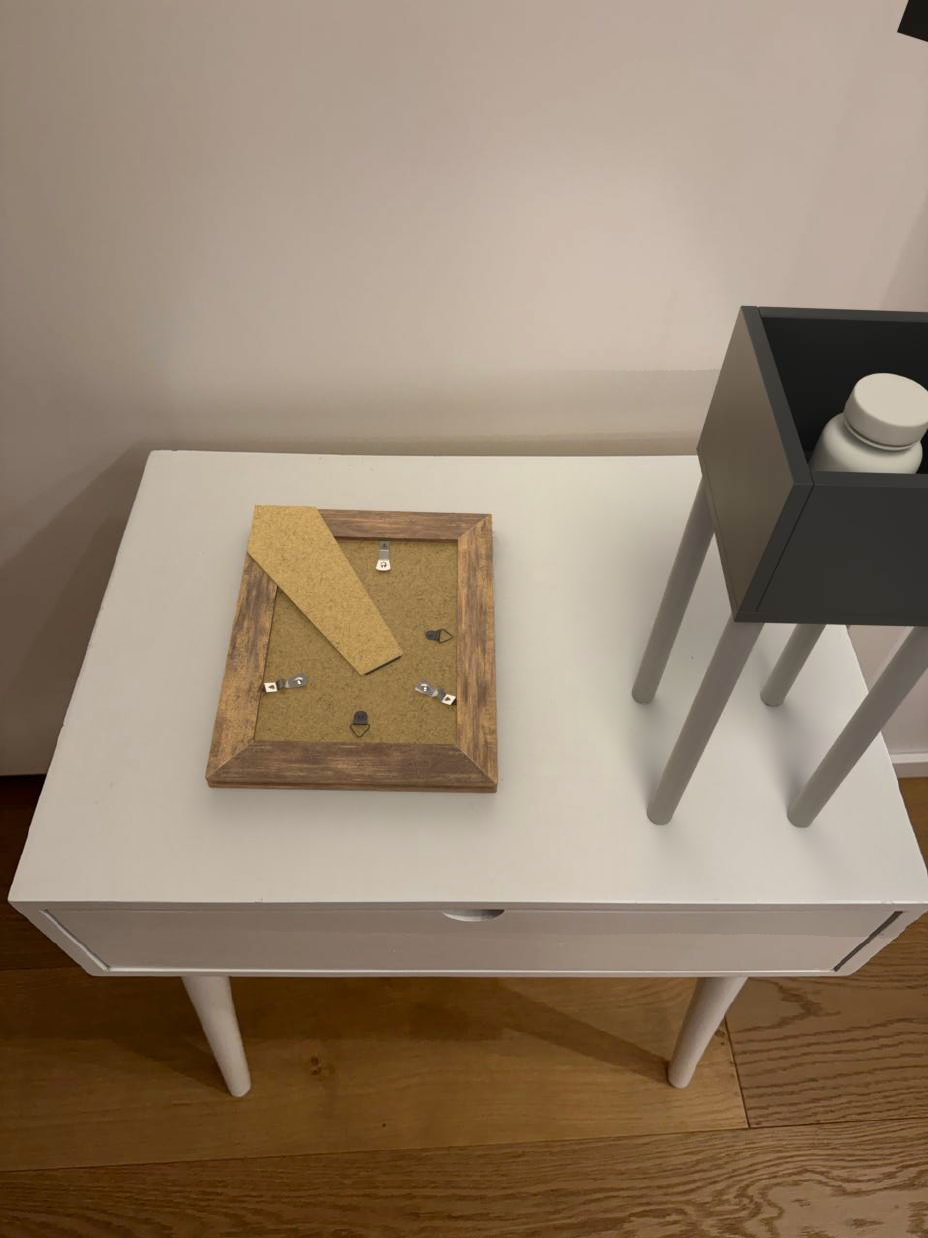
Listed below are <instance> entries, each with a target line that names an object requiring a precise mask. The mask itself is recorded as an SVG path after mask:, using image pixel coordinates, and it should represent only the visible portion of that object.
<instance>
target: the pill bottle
mask: <svg viewBox="0 0 928 1238" xmlns="http://www.w3.org/2000/svg"><path fill="white" fill-rule="evenodd" d="M927 429H928V391H927V390H925V389H924V388H923V387H922V386H921V385H919V384H918V383H916V382H914V381H912V380H910V379H908V378H905V377H902V376H898V375H894V374H886V373H881V374H872V375H869V376H866V377H864V378H862V379H861V380H859V381H858V383H857V384H856V385H855V387H854V389H853V391H852V393H851V395H850V397H849V399H848V400H847V402H846V405H845V409H844V412H843V413H841V414H839V415H837V416H835V417H834V418H832V419H831V420H830V421H829V422H828V423H827V424H826V426H825V427H824V429H823V431H822V433H821V435H820V437H819V440H818V442H817V444H816V446H815V449H814V451H813V453H812V455H811V458H810V460H809V462H808V464H807V465H808V468H809V471H836V472H871V473H906V474H915V473H916V471H917V470H918V468H919V466H920V463H921V460H922V446H921V443H920V440H921V439H922V437H923V436H924V434H925V432H926V431H927Z"/></svg>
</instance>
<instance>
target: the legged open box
mask: <svg viewBox="0 0 928 1238" xmlns="http://www.w3.org/2000/svg"><path fill="white" fill-rule="evenodd" d="M881 373H886V374H894V375H898V376H902V377H905V378H908V379H910V380H912V381H914V382H916V383H918V384H919V385H921V386H922V387H923V388H924V389H925V390H927V391H928V311H913V310H912V311H911V310H881V309H856V308H855V309H854V308H853V309H852V308H851V309H849V308H824V307H823V308H822V307H795V306H768V305H767V306H764V305H763V306H762V305H760V306H757V305H740V307H739V310H738V312H737V317H736V320H735V322H734V327H733V329H732V332H731V335H730V339H729V343H728V345H727V349H726V352H725V355H724V358H723V363H722V365H721V369H720V371H719V373H718V374H719V375H718V377H717V382H716V384H715V387H714V391H713V394H712V397H711V400H710V403H709V407H708V410H707V414H706V416H705V419H704V423H703V426H702V430H701V432H700V436H699V439H698V442H697V445H696V454H697V459H698V463H699V468H700V472H701V478H700V482H699V484H698V486H697V487H698V488H697V490H696V493H695V497H694V500H693V502H692V506H691V509H690V511H689V515H688V518H687V521H686V524H685V527H684V529H683V534H682V536H681V539H680V542H679V545H678V549H677V552H676V555H675V558H674V561H673V564H672V567H671V571H670V573H669V576H668V579H667V583H666V585H665V589H664V592H663V595H662V597H661V601H660V604H659V607H658V610H657V612H656V616H655V619H654V622H653V625H652V628H651V631H650V635H649V638H648V640H647V643H646V644H647V645H646V647H645V650H644V653H643V656H642V659H641V662H640V665H639V668H638V672H637V674H636V677H635V681H634V683H633V686H632V688H631V689H632V690H631V696H632V698H633V699H634V700H635V701H636V702H637V703H639V704H643V705H647V704H650V703H651V702H653V700H655V698H656V697H655V696H656V694H657V692H658V689H659V685H660V682H661V680H662V677H663V675H664V671H665V669H666V666H667V663H668V661H669V658H670V655H671V654H672V653H671V652H672V650H673V648H674V644H675V642H676V639H677V636H678V634H679V631H680V628H681V626H682V622H683V620H684V617H685V614H686V611H687V609H688V606H689V603H690V601H691V597H692V595H693V592H694V589H695V586H696V585H697V581H698V578H699V575H700V573H701V570H702V567H703V564H704V562H705V559H706V556H707V553H708V550H709V548H710V545H711V542H712V540H713V537H714V535H715V541H716V545H717V550H718V554H719V560H720V565H721V569H722V573H723V578H724V582H725V587H726V591H727V596H728V602H729V606H730V610H731V611H730V615H729V617H728V619H727V622H726V625H725V626H724V629H723V631H722V634H721V636H720V638H719V640H718V643H717V645H716V647H715V650H714V652H713V655H712V657H711V659H710V661H709V663H708V664H709V665H708V666H707V669H706V671H705V674H704V676H703V678H702V680H701V683H700V685H699V687H698V690H697V692H696V694H695V697H694V699H693V701H692V704H691V706H690V709H689V711H688V713H687V716H686V717H685V721H684V722H683V724H682V727H681V729H680V732H679V734H678V737H677V738H676V741H675V743H674V746H673V748H672V750H671V753H670V755H669V758H668V760H667V763H666V764H665V767H664V769H663V771H662V774H661V777H660V778H659V781H658V784H657V786H656V788H655V790H654V793H653V795H652V797H651V800H650V802H649V805H648V807H647V809H646V814H647V817H648V820H650V822H652V823H653V824H654V825H656V826H664V825H665V826H666V825H667V824H669V823H670V822H671V820H672V819H673V816H674V814H675V812H676V810H677V808H678V806H679V804H680V802H681V799H682V797H683V795H684V793H685V792H686V789H687V787H688V785H689V783H690V781H691V779H692V776H693V774H694V773H695V770H696V768H697V766H698V764H699V762H700V760H701V758H702V755H703V754H704V752H705V749H706V747H707V745H708V744H709V741H710V739H711V737H712V735H713V733H714V731H715V728H716V726H717V724H718V722H719V720H720V718H721V716H722V714H723V712H724V710H725V708H726V706H727V703H728V701H729V699H730V697H731V696H732V693H733V691H734V689H735V687H736V685H737V682H738V680H739V678H740V677H741V675H742V672H743V671H744V668H745V666H746V664H747V662H748V660H749V657H750V655H751V653H752V652H753V649H754V647H755V645H756V643H757V641H758V639H759V637H760V634H761V633H762V630H763V628H764V626H765V624H786V625H787V624H789V625H790V624H791V625H792V624H793V625H795V627H794V628H793V630H792V633H791V635H790V636H789V638H788V640H787V642H786V644H785V645H784V648H783V650H782V651H781V653H780V656H779V657H778V659H777V661H776V663H775V664H774V667H773V668H772V670H771V673H770V674H769V676H768V678H767V680H766V682H765V684H764V686H763V688H762V690H761V692H760V698H761V700H762V701H763V703H764V704H766V705H768V706H770V707H779V706H781V705H782V704H783V703H784V701H785V699H786V697H787V696H788V694H789V692H790V691H791V689H792V687H793V685H794V683H795V681H796V680H797V678H798V676H799V674H800V673H801V671H802V669H803V667H804V666H805V664H806V662H807V660H808V658H809V656H810V655H811V653H812V651H813V649H814V647H816V644H817V642H818V641H819V639H820V637H821V635H822V634H823V632H824V630H825V628H826V626H827V625H828V626H829V625H830V626H831V625H832V626H835V625H836V626H868V627H869V626H870V627H871V626H872V627H874V626H875V627H876V626H877V627H910V628H911V627H913V628H912V629H911V630H910V632H909V633H908V634H907V636H906V638H905V639H904V641H903V642H902V644H901V645H900V646H899V648H898V650H897V651H896V652H895V653H894V655H893V656H892V658H891V660H890V661H889V662H888V664H887V665H886V667H885V668H884V670H883V671H882V673H881V674H880V676H879V677H878V678H877V680H876V682H875V683H874V684H873V686H872V687H871V689H870V691H868V693H867V694H866V696H865V697H864V699H863V700H862V701H861V703H860V705H859V706H858V708H857V709H856V710H855V712H854V714H853V715H852V716H851V717H850V719H849V721H848V722H847V723H846V725H845V727H844V728H843V729H842V731H841V733H840V734H839V735H838V737H837V738H836V739H835V741H834V743H833V744H832V745H831V747H830V748H829V750H828V751H827V753H826V755H824V757H823V759H822V760H821V762H820V763H819V765H818V766H817V767H816V768H815V771H813V773H812V775H811V776H810V777H809V778H808V780H807V782H806V784H805V785H804V786H803V788H802V789H801V791H800V792H799V794H798V795H797V796H796V798H795V799H794V800H793V802H792V804H791V805H790V806H789V808H788V810H787V819H788V820H789V822H790V823H791V824H792V825H793V826H795V827H797V828H800V829H804V828H808V827H810V825H812V823H813V822H814V820H816V818H817V817H818V816H819V814H820V813H821V811H822V810H823V808H824V807H825V806H826V805H827V803H828V802H829V800H830V799H831V798H832V796H833V795H834V794H835V792H837V790H838V789H839V787H840V786H841V785H842V784H843V782H844V780H845V779H846V778H847V776H848V775H849V774H850V773H851V771H852V770H853V768H854V767H855V766H856V765H857V763H858V762H859V761H860V760H861V758H862V756H863V755H864V753H865V752H866V751H867V749H869V747H870V746H871V744H872V743H873V742H874V740H875V739H876V738H877V736H878V735H879V734H880V732H881V731H882V729H884V727H885V725H886V724H887V723H888V722H889V720H890V719H891V718H892V716H893V715H894V714H895V712H896V711H897V710H898V708H899V707H900V706H901V704H902V703H903V702H904V701H905V699H906V698H907V696H908V695H909V694H910V693H911V692H912V689H913V688H914V687H915V685H916V684H917V683H918V682H919V680H920V679H921V677H922V676H923V675H924V674H925V672H926V671H927V670H928V429H927V431H926V432H925V434H924V436H923V437H922V439H921V440H920V443H921V446H922V460H921V463H920V466H919V468H918V470H917V471H916V473H915V474H906V473H871V472H836V471H809V468H808V465H807V464H808V462H809V460H810V458H811V455H812V453H813V451H814V449H815V446H816V444H817V442H818V440H819V437H820V435H821V433H822V431H823V429H824V427H825V426H826V424H827V423H828V422H829V421H830V420H831V419H832V418H834V417H835V416H837V415H839V414H841V413H843V412H844V409H845V405H846V402H847V400H848V399H849V397H850V395H851V393H852V391H853V389H854V387H855V385H856V384H857V383H858V381H859V380H861V379H862V378H864V377H866V376H869V375H872V374H881Z"/></svg>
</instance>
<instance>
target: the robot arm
mask: <svg viewBox="0 0 928 1238" xmlns="http://www.w3.org/2000/svg"><path fill="white" fill-rule="evenodd" d="M896 33H897V34H900V35H904V36H907V37H910V38H913V39H915V40H916V39H917V40H920V41H923V42H925V43H928V0H907V3H906V5H905V8H904V11H903V14H902V16H901V19H900V22H899V24H898V27H897V30H896Z"/></svg>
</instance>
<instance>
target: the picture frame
mask: <svg viewBox="0 0 928 1238" xmlns="http://www.w3.org/2000/svg"><path fill="white" fill-rule="evenodd" d="M493 547H494V545H493V515H492V513H476V512H475V513H473V512H472V513H471V512H441V511H439V512H436V511H403V510H402V511H400V510H367V509H362V510H361V509H335V508H334V509H332V508H331V509H329V508H317V506H306V505H305V506H304V505H274V504H273V505H271V504H269V505H268V504H254V508H253V513H252V519H251V526H250V532H249V536H248V542H247V548H246V554H245V557H244V565H243V570H242V576H241V581H240V585H239V589H238V590H239V591H238V597H237V601H236V608H235V612H234V618H233V623H232V628H231V634H230V639H229V645H228V650H227V655H226V661H225V667H224V671H223V677H222V682H221V687H220V694H219V699H218V703H217V709H216V715H215V721H214V726H213V732H212V736H211V741H210V746H209V752H208V757H207V763H206V768H205V775H204V778H205V781H206V782H207V783H206V784H207V786H208V788H223V789H225V788H227V789H274V790H275V789H277V790H279V789H280V790H327V791H329V790H330V791H331V790H332V791H340V790H341V791H377V792H379V791H382V792H386V791H387V792H434V793H435V792H436V793H437V792H438V793H481V794H482V793H483V794H484V793H485V794H486V793H487V794H488V793H490V794H495V793H497V791H498V785H499V770H498V768H499V767H498V766H499V765H498V763H499V762H498V727H497V725H498V724H497V723H498V722H497V721H498V720H497V684H496V683H497V679H496V638H495V636H496V635H495V632H496V631H495V595H494V594H495V593H494V553H493V552H494V551H493V550H494V548H493Z"/></svg>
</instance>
